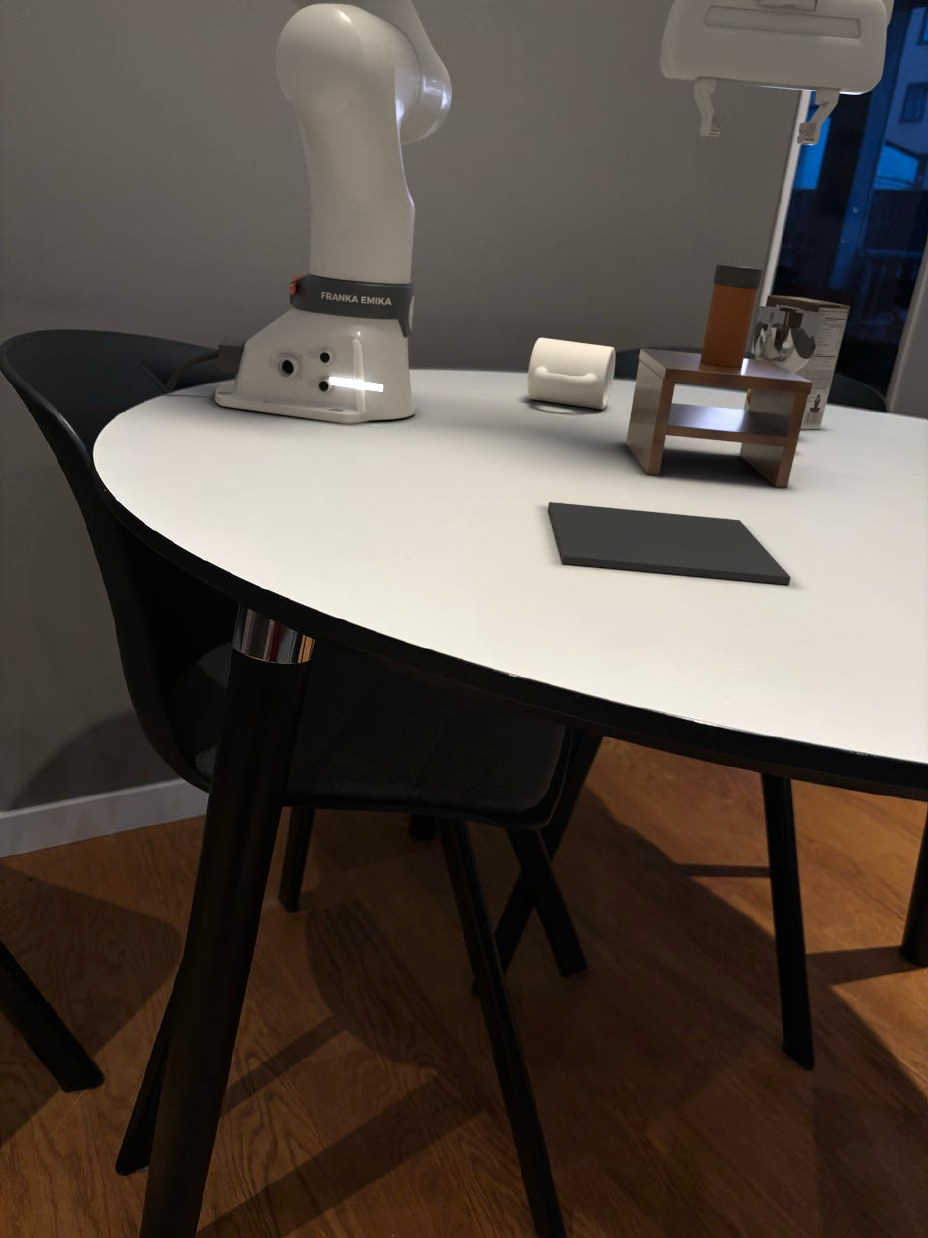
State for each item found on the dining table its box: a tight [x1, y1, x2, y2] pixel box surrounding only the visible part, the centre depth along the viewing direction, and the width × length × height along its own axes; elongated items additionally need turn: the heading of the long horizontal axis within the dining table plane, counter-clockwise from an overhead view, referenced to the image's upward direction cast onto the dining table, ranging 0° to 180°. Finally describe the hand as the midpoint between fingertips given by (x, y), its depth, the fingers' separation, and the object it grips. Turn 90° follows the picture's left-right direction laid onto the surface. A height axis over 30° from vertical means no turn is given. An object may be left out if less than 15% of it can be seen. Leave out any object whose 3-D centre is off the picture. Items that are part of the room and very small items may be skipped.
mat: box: [547, 501, 792, 586], centre depth 75 cm, size 16×14×1 cm
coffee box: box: [743, 294, 851, 431], centre depth 130 cm, size 9×6×16 cm
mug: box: [527, 337, 616, 411], centre depth 127 cm, size 12×10×8 cm
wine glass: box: [752, 305, 825, 374], centre depth 121 cm, size 8×8×15 cm
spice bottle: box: [700, 263, 764, 367], centre depth 97 cm, size 4×4×9 cm
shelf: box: [625, 347, 813, 489], centre depth 101 cm, size 14×15×10 cm
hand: (758, 140), depth 92 cm, fingers open, 8 cm apart
